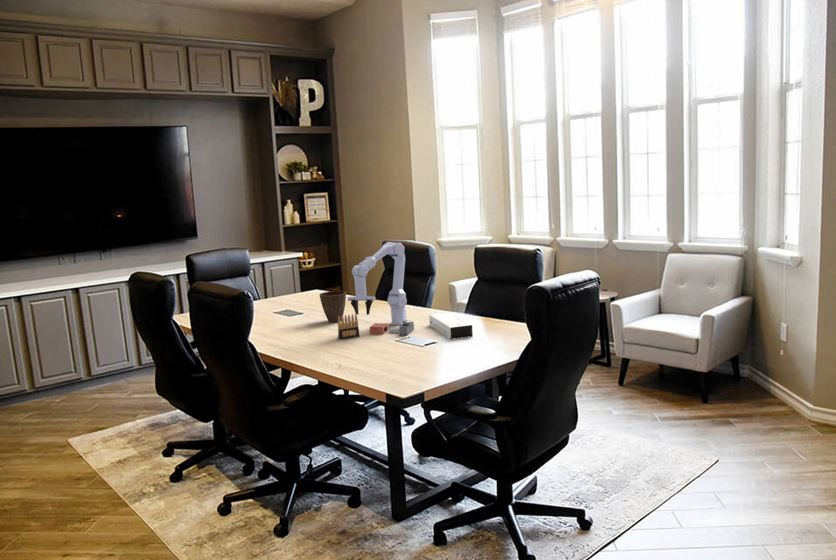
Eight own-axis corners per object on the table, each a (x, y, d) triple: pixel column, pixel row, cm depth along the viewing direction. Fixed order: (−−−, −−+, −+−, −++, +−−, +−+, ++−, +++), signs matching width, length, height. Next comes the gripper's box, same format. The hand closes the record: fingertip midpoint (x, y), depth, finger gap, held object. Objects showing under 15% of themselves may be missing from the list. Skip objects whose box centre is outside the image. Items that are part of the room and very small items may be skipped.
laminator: (472, 337, 332) (472, 325, 331) (449, 340, 329) (448, 328, 328) (449, 323, 365) (449, 312, 364) (427, 326, 361) (427, 314, 360)
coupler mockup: (393, 329, 356) (393, 318, 355) (414, 329, 353) (413, 318, 352) (386, 335, 345) (385, 323, 344) (407, 335, 342) (406, 323, 341)
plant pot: (317, 324, 380) (315, 296, 377) (327, 318, 394) (325, 291, 391) (342, 324, 376) (340, 295, 373) (351, 318, 390) (349, 290, 388)
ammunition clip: (339, 339, 342) (337, 316, 340) (338, 339, 343) (336, 315, 341) (359, 336, 345) (358, 313, 343) (358, 336, 347) (356, 312, 345)
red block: (375, 330, 357) (375, 323, 356) (388, 330, 355) (387, 323, 354) (370, 334, 349) (369, 326, 349) (383, 334, 347) (382, 327, 347)
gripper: (344, 290, 349) (346, 315, 351) (371, 289, 345) (373, 316, 347) (349, 287, 356) (351, 313, 358) (376, 287, 352) (377, 313, 354)
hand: (362, 314), depth 353 cm, fingers open, 5 cm apart
